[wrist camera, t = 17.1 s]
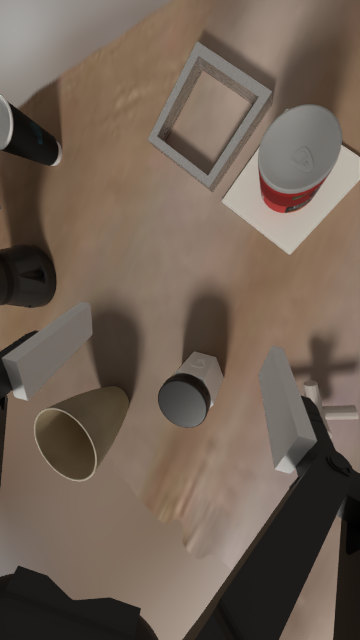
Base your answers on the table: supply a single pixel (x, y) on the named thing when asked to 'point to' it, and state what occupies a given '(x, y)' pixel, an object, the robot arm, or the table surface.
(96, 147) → the table surface
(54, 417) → the plant pot
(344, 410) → the light grey toy jack
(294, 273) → the table surface
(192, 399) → the jar
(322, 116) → the canned food
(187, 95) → the square frame
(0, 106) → the dixie cup
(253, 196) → the tile
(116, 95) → the table surface
